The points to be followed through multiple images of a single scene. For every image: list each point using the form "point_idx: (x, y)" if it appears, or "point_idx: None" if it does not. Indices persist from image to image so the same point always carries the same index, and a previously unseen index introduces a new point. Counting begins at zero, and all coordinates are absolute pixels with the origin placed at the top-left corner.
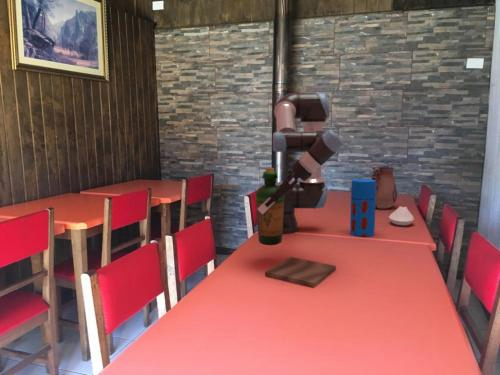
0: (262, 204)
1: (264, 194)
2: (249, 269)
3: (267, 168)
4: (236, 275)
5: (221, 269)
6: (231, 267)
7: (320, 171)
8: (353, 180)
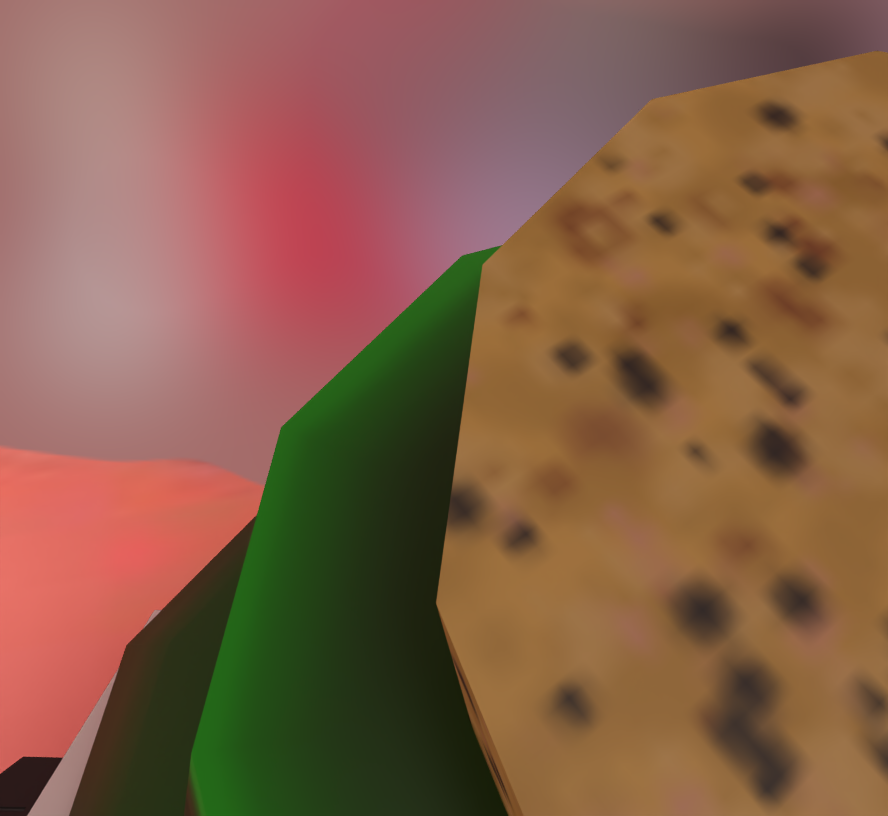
0: (104, 698)
1: (120, 690)
2: None
3: (818, 226)
4: (22, 621)
5: (159, 492)
6: (201, 554)
7: None
8: None
